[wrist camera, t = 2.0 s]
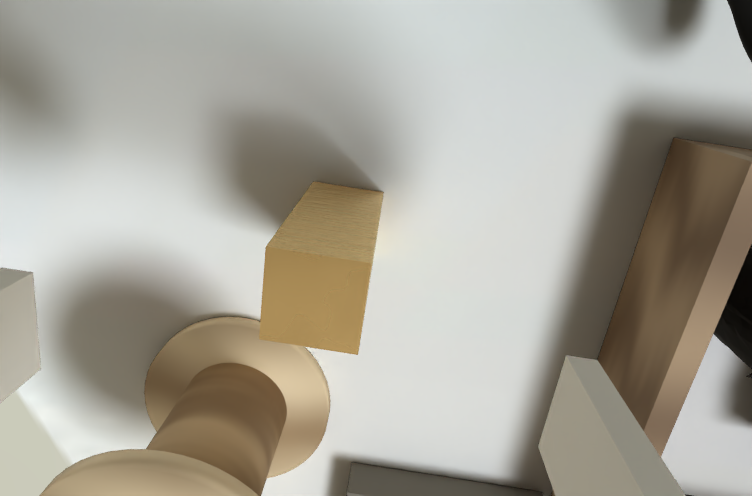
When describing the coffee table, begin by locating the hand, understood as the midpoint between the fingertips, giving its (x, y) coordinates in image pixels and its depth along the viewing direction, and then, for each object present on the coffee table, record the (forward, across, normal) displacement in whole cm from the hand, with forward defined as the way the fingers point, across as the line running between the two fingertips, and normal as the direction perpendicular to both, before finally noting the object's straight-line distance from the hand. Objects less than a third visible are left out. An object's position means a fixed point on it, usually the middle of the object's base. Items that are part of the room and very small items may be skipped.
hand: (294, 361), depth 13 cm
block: (+10, 0, +1) cm, 11 cm away
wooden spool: (+11, -4, -9) cm, 15 cm away
